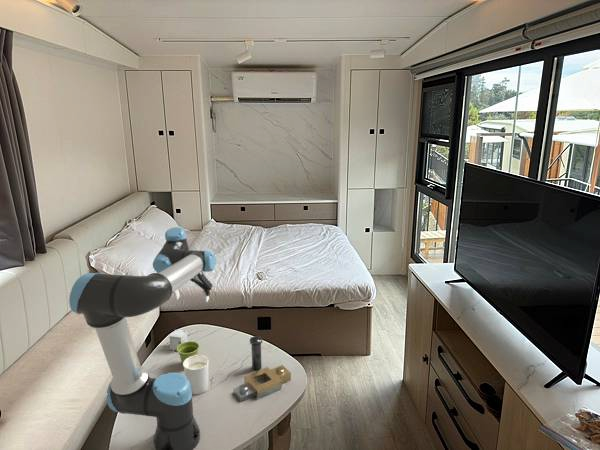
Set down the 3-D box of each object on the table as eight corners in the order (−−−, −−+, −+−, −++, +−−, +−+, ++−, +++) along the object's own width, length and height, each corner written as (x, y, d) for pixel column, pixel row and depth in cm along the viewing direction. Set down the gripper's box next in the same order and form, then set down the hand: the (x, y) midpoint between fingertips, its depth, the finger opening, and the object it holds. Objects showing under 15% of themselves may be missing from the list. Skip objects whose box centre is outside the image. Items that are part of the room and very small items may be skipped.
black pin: (254, 373, 177) (253, 344, 173) (248, 367, 181) (247, 338, 178) (265, 368, 180) (264, 340, 176) (259, 363, 184) (258, 334, 180)
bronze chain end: (257, 399, 162) (257, 389, 161) (244, 383, 170) (243, 375, 169) (293, 382, 171) (293, 374, 170) (279, 369, 180) (279, 360, 179)
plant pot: (197, 371, 179) (196, 353, 176) (175, 370, 179) (174, 353, 176) (203, 358, 188) (201, 341, 185) (182, 358, 188) (180, 341, 185)
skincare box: (170, 349, 194) (168, 335, 192) (176, 342, 200) (175, 329, 198) (182, 351, 193) (180, 337, 191) (188, 344, 198) (187, 330, 196)
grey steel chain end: (243, 405, 159) (243, 398, 158) (230, 389, 167) (230, 383, 166) (281, 388, 168) (281, 382, 167) (267, 374, 177) (267, 368, 176)
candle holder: (180, 391, 166) (177, 365, 163) (196, 377, 174) (194, 352, 171) (199, 399, 162) (197, 372, 158) (215, 384, 170) (213, 359, 167)
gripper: (214, 257, 171) (222, 295, 184) (157, 254, 175) (169, 290, 187) (208, 269, 165) (217, 307, 178) (149, 265, 169) (162, 303, 181)
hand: (192, 299), depth 183 cm, fingers open, 13 cm apart
